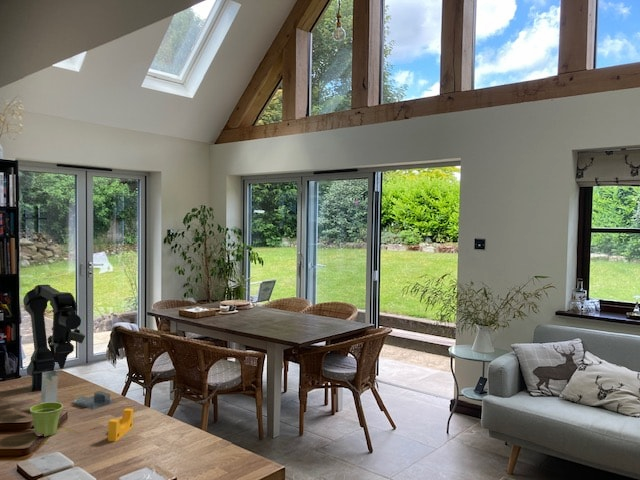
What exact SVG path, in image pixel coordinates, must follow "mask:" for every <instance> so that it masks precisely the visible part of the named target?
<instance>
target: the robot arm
mask: <svg viewBox="0 0 640 480" xmlns="http://www.w3.org/2000/svg"><path fill="white" fill-rule="evenodd" d="M22 302H23V303H22V304H23V305H24V308H25V311H26V312H27V313H28V315H30V320H31V330H32V339H33V352H32V354H31V356H30V362H29V364H28V365H27V368H26V374H27V376H30V377H31V385H29V390H30V391H31V392H36V391H42V372H47V371H55V366H56V364H57V365H58V367H59V369H61V370H62V369H64V367H65V364H66V362H67V358H68V356H69V355H70V354H72V353H73V352H75V351H74V349H75V345H74V344H73V343H72V341H73V342H76V343H79V344H83V343H84V340H85V338H86V335H85V334H84V333H83V332H81V331H80V329H78V328H79V327H80V325H82V319H81V317H80V315H78V314H77V311H78V304H77V302H76V299H75V297H74V295H73V293H71V292H68V291H67V292H65V291H59V290H58V289H55V288H54V287H53V286H51V285H50V284H37V285H35V286H34V287H33V289H31V290H29V291H28V292H26V294H25V296H23V301H22ZM48 303H49V305H50V307H51V308H52V311H51V312H52V314H53V317H52V319H53V320H52V327H51V331H52V335H49V336H48V338H47V332H46V331H47V330H46V322H45V311H46V309H47V307H48Z"/></svg>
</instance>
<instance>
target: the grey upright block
mask: <svg viewBox="0 0 640 480" xmlns="http://www.w3.org/2000/svg"><path fill="white" fill-rule="evenodd" d="M58 384H59V372H57V371H56V370H54V371H47V372H42V390H40V391H41V392H40V393H41V397H40V404H41V403H47V402H57V403H58V387H59V386H58Z"/></svg>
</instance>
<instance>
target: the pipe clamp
mask: <svg viewBox="0 0 640 480" xmlns="http://www.w3.org/2000/svg"><path fill="white" fill-rule="evenodd" d="M133 424H134V408H129V407H128V408H125V409H123V413H122V417H120V418H119V417H118V419H113V418H111V419H110V420H108V432H107V433H108V434H107V441H108V442H114V443H115V442H117V441H118V440H120V439H121V438H122V437H123V436H125V435H126V434H127V433H128V432H129V431H130V430H131V429H133V427H134V426H133Z"/></svg>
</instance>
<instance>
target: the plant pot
mask: <svg viewBox="0 0 640 480" xmlns="http://www.w3.org/2000/svg"><path fill="white" fill-rule="evenodd" d="M63 408H64V405H63V404H62V403H61V402H58V401H57V402H47V403H41V402H40V403H39V404H35V405H33V406H31V407H29V412H30V413H31V414H30V415H31V416H32V421H33V422H32V423H33V430H34V433H35V432H38V433H43V434H44V437H43V438H46V437H47V436H53V435H55V434H56V433H57V430H58V425H59V420H60V415H61V411H62V409H63Z"/></svg>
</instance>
